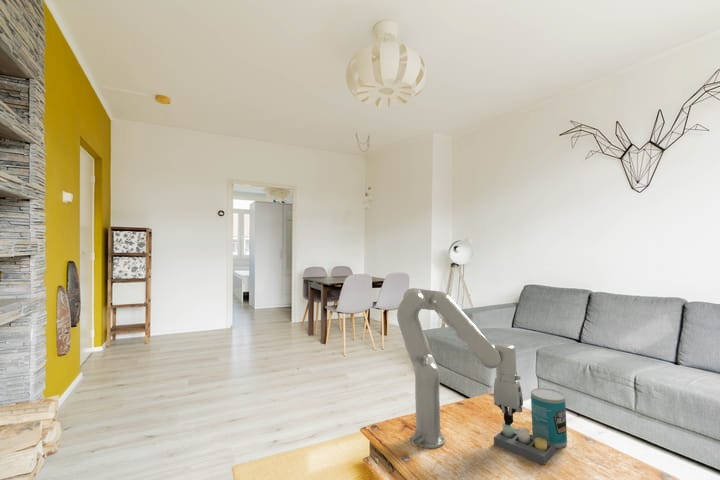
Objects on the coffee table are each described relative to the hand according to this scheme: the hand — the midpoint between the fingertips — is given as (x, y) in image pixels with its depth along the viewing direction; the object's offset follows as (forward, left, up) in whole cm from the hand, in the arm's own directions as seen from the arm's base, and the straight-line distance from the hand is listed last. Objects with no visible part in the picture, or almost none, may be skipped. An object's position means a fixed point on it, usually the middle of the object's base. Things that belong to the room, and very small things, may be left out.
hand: (508, 423), depth 135 cm
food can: (+13, -10, -7) cm, 18 cm away
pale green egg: (0, 0, -4) cm, 4 cm away
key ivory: (0, -6, -4) cm, 7 cm away
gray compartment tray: (0, -6, -7) cm, 9 cm away
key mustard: (0, -12, -6) cm, 13 cm away
